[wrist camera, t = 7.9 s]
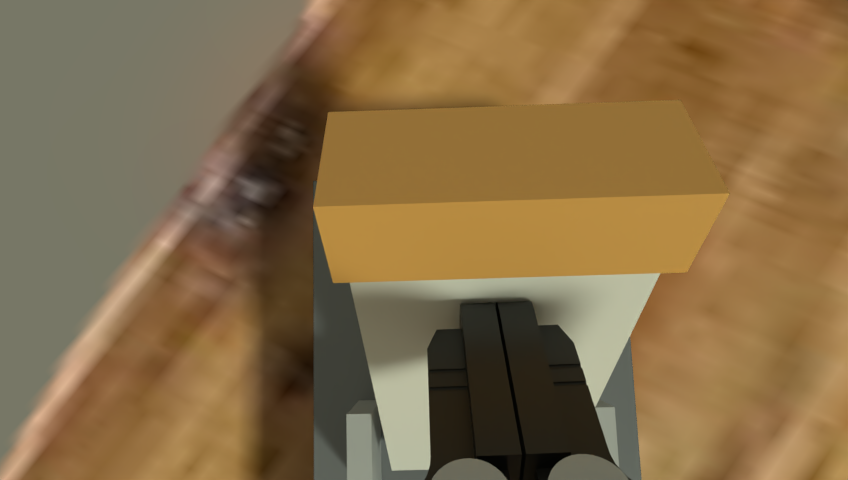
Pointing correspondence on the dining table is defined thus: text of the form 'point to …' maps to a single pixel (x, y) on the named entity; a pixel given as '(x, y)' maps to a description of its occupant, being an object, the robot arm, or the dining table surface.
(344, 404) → the switch box
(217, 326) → the dining table surface
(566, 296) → the lever
